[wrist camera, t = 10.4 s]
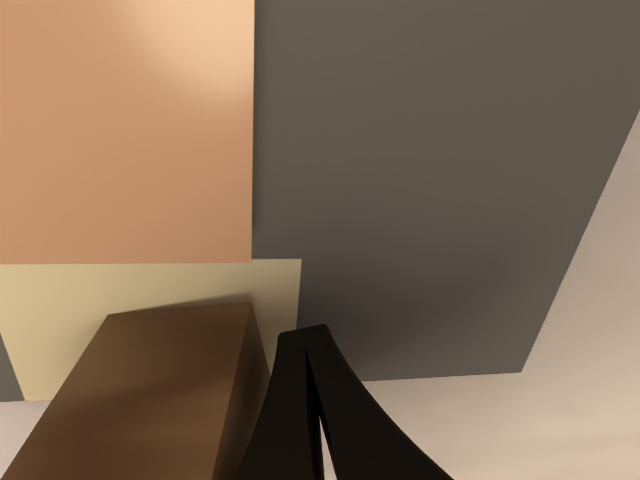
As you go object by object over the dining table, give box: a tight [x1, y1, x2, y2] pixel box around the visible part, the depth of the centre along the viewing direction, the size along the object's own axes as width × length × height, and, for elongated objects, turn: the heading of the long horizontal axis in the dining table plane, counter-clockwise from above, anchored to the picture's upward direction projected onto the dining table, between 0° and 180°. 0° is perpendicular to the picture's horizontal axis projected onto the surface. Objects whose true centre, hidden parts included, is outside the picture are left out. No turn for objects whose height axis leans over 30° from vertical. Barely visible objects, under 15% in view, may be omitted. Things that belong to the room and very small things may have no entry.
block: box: [1, 302, 271, 480], centre depth 10 cm, size 4×4×5 cm
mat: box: [0, 0, 640, 402], centre depth 9 cm, size 20×19×1 cm
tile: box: [0, 0, 255, 264], centre depth 8 cm, size 2×7×6 cm
